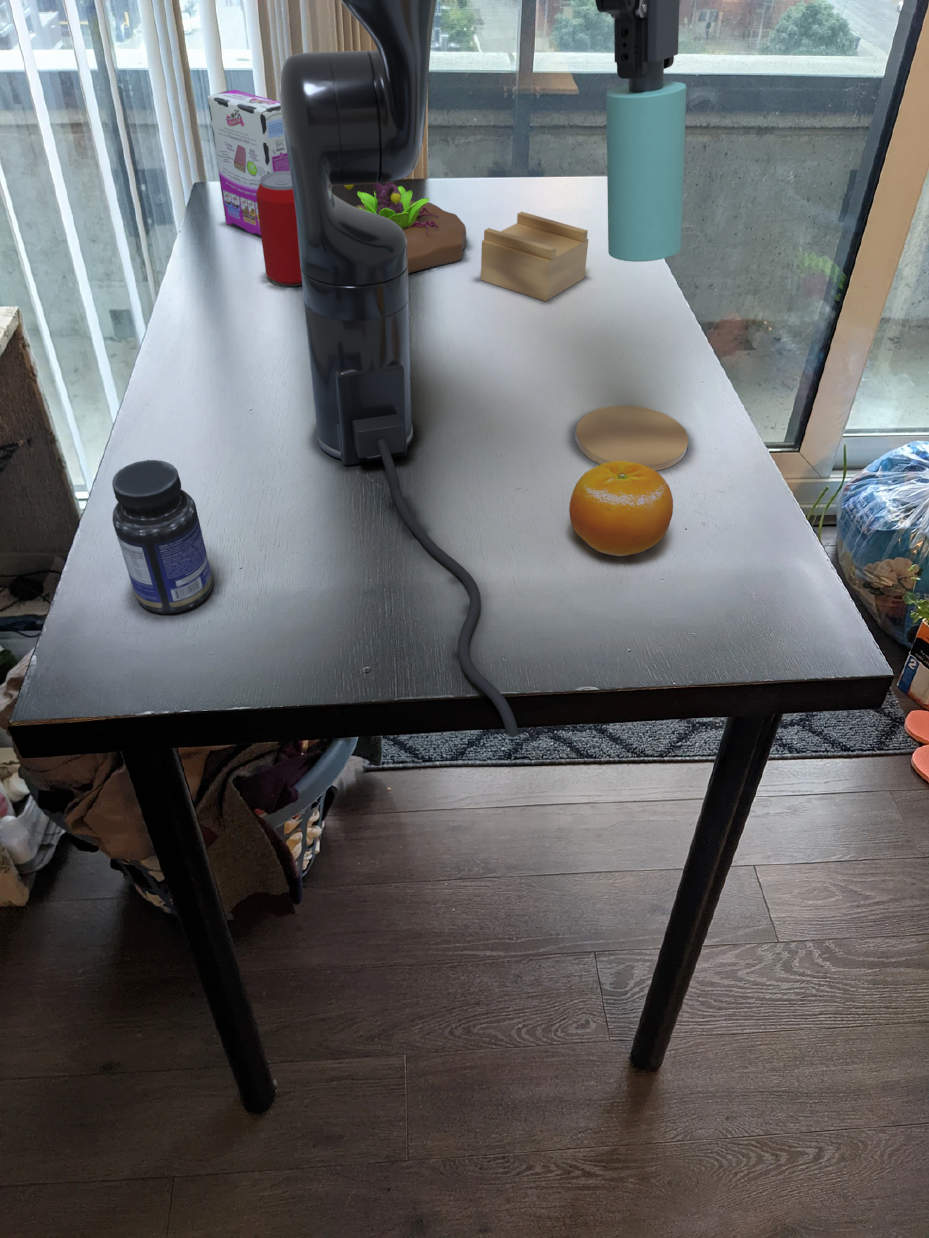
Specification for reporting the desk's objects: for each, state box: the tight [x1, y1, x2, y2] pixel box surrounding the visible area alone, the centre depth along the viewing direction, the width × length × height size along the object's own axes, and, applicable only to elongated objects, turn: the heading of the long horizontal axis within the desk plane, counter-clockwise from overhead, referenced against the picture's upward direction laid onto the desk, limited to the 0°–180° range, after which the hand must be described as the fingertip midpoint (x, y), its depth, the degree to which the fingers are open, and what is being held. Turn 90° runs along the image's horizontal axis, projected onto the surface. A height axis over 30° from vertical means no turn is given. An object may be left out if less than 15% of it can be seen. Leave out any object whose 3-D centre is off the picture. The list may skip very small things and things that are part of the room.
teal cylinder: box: [605, 0, 687, 263], centre depth 74 cm, size 18×6×6 cm
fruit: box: [568, 461, 674, 557], centre depth 80 cm, size 8×8×8 cm
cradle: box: [480, 211, 589, 302], centre depth 119 cm, size 10×9×6 cm
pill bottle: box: [111, 459, 214, 614], centre depth 73 cm, size 6×6×11 cm
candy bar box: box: [206, 89, 290, 238], centre depth 126 cm, size 11×5×16 cm, turn 49°
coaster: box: [574, 404, 689, 472], centre depth 94 cm, size 11×11×1 cm
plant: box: [343, 181, 467, 274], centre depth 125 cm, size 20×20×11 cm
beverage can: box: [256, 171, 302, 287], centre depth 116 cm, size 7×7×12 cm
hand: (645, 71), depth 72 cm, fingers closed on teal cylinder, 3 cm apart
